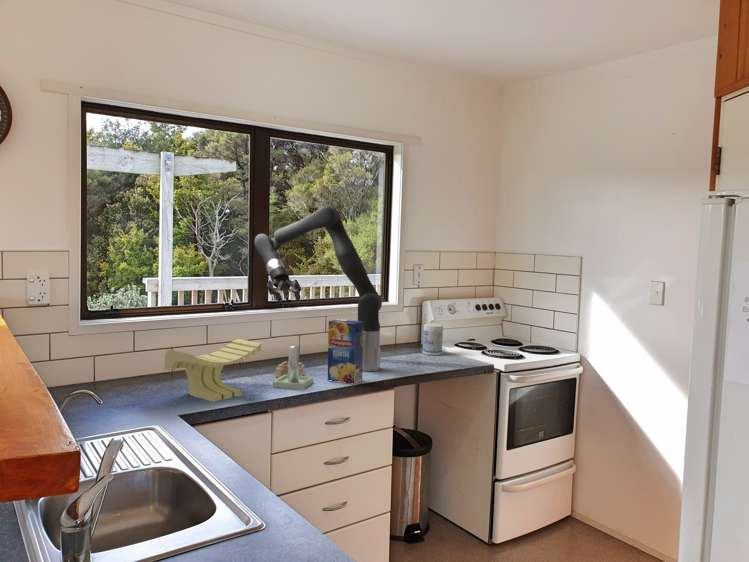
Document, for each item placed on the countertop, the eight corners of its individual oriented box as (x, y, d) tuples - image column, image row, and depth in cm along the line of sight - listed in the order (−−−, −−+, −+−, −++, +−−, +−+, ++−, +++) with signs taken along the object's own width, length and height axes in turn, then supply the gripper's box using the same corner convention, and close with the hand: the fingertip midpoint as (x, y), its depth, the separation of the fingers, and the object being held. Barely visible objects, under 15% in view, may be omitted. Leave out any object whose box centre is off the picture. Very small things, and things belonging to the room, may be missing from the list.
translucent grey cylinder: (300, 381, 240) (300, 345, 239) (296, 383, 236) (297, 347, 235) (290, 380, 241) (291, 345, 240) (286, 382, 237) (287, 346, 236)
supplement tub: (419, 354, 303) (420, 325, 302) (426, 351, 312) (427, 322, 311) (437, 356, 299) (438, 326, 298) (444, 353, 307) (445, 324, 306)
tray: (313, 382, 243) (313, 376, 243) (302, 389, 231) (302, 384, 231) (284, 379, 246) (284, 374, 246) (272, 387, 234) (272, 381, 234)
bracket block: (304, 374, 255) (304, 362, 255) (296, 379, 246) (296, 367, 246) (283, 373, 257) (284, 361, 257) (275, 378, 248) (275, 365, 248)
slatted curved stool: (233, 383, 239) (233, 337, 238) (260, 390, 229) (261, 343, 228) (164, 398, 216) (164, 348, 214) (191, 407, 206) (191, 354, 204)
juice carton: (362, 380, 248) (363, 321, 246) (354, 384, 241) (355, 323, 239) (336, 376, 253) (337, 319, 251) (327, 380, 246) (328, 321, 244)
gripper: (265, 266, 260) (277, 295, 252) (294, 265, 269) (308, 294, 260) (259, 277, 265) (271, 307, 257) (288, 276, 273) (301, 305, 265)
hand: (290, 300), depth 259 cm, fingers open, 8 cm apart
